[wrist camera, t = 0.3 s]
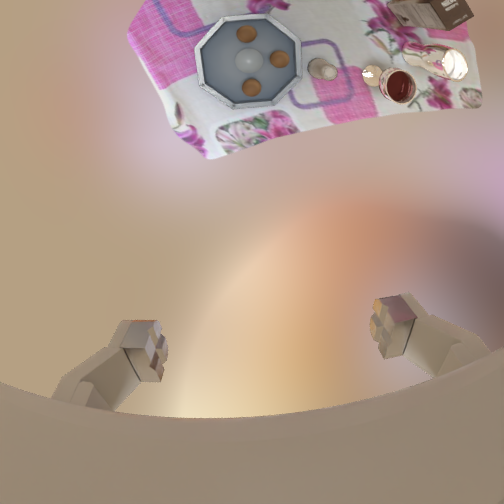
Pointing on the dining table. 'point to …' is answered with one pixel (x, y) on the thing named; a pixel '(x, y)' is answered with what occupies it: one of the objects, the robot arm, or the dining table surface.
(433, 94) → the dining table surface
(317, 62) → the rook chess piece
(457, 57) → the beer glass
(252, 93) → the walnut bead
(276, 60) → the walnut bead
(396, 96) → the wineglass
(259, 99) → the ring dish
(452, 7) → the coffee box
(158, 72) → the dining table surface
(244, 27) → the walnut bead
